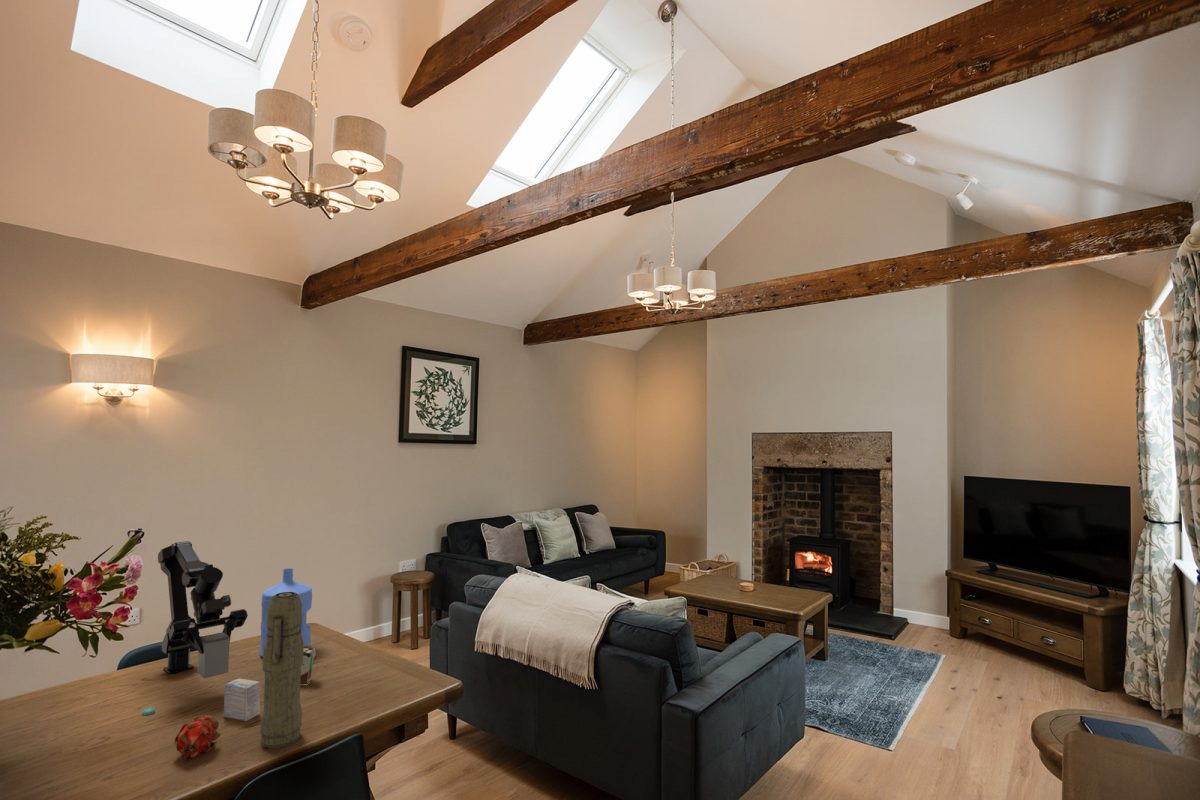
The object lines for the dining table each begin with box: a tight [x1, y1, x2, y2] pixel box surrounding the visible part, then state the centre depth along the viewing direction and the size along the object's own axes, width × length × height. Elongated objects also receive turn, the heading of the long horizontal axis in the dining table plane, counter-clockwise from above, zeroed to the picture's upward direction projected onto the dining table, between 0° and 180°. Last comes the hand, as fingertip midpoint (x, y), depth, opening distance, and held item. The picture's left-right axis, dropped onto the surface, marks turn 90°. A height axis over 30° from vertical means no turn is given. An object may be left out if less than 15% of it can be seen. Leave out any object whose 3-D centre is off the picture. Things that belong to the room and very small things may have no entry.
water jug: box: [259, 568, 313, 658], centre depth 210 cm, size 16×16×28 cm
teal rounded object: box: [141, 707, 156, 716], centre depth 163 cm, size 3×3×1 cm
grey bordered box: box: [197, 632, 231, 680], centre depth 174 cm, size 6×6×10 cm
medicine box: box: [223, 678, 261, 722], centre depth 162 cm, size 8×4×9 cm, turn 71°
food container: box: [300, 644, 317, 685], centre depth 185 cm, size 12×6×10 cm, turn 84°
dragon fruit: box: [174, 714, 221, 761], centre depth 142 cm, size 8×8×12 cm
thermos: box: [259, 592, 304, 749], centre depth 150 cm, size 9×12×35 cm
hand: (215, 650), depth 173 cm, fingers closed on grey bordered box, 6 cm apart
